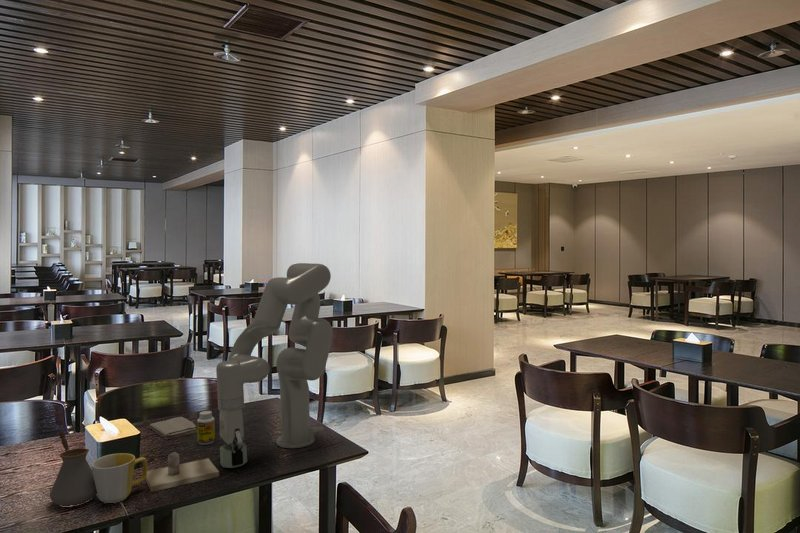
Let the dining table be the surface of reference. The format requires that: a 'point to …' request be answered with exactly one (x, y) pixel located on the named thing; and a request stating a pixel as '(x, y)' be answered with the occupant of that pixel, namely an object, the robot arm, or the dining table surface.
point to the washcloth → (174, 428)
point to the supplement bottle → (205, 428)
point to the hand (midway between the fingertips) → (233, 460)
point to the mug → (116, 476)
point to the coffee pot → (73, 477)
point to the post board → (180, 473)
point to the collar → (230, 455)
